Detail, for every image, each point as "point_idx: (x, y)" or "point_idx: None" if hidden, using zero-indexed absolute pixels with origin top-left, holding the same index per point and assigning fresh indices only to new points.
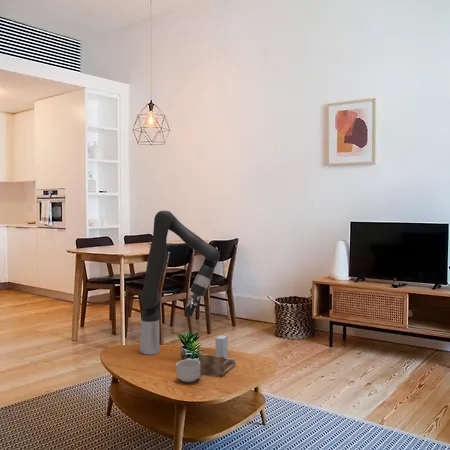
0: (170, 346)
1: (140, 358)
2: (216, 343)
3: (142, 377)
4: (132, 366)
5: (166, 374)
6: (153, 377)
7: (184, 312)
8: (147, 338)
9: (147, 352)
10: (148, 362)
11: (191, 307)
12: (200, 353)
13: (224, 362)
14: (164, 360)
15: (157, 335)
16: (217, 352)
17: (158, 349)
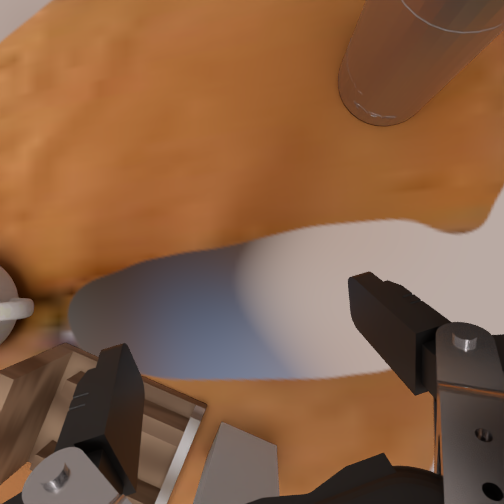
0: (494, 173)
1: (281, 48)
2: (203, 488)
3: (21, 104)
4: (162, 33)
5: (56, 202)
6: (20, 150)
7: (372, 278)
8: (362, 12)
9: (341, 66)
10: (219, 97)
11: (44, 476)
12: (9, 383)
13: None
14: (249, 170)
15: (397, 68)
16: (209, 460)
17: (375, 116)
